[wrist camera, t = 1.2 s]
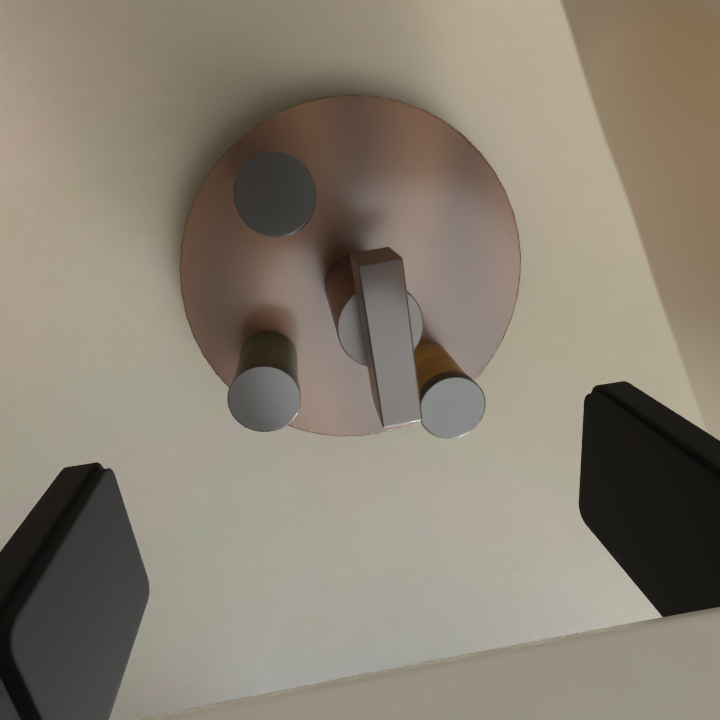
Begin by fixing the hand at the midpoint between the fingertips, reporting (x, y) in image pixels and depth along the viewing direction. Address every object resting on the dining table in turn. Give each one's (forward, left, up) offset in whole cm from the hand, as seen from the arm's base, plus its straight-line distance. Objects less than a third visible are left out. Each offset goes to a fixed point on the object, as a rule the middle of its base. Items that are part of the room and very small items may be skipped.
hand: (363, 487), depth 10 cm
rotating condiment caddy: (-2, +1, -21) cm, 21 cm away
